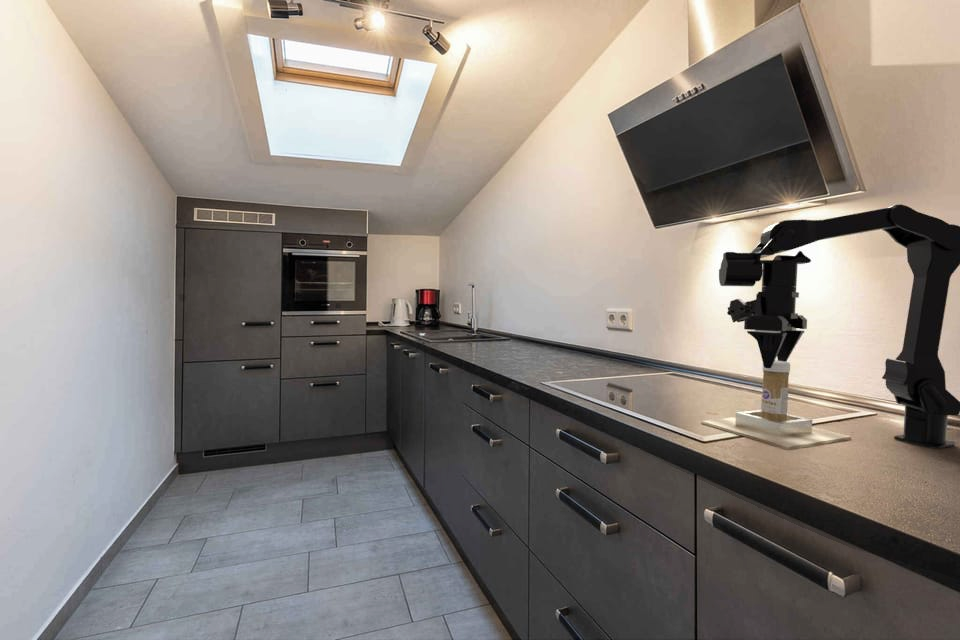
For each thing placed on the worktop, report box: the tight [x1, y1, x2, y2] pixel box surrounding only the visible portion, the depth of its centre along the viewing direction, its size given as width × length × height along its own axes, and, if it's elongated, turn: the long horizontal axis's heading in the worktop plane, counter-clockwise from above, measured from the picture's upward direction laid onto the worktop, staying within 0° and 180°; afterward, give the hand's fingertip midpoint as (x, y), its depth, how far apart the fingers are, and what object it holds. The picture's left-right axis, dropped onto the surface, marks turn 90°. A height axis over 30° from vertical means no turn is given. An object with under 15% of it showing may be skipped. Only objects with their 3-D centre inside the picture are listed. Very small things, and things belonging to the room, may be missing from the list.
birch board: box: [701, 416, 852, 451], centre depth 91 cm, size 18×18×1 cm
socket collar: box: [735, 409, 813, 437], centre depth 91 cm, size 9×9×2 cm
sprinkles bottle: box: [760, 359, 791, 422], centre depth 91 cm, size 5×5×14 cm
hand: (774, 366), depth 91 cm, fingers open, 9 cm apart
